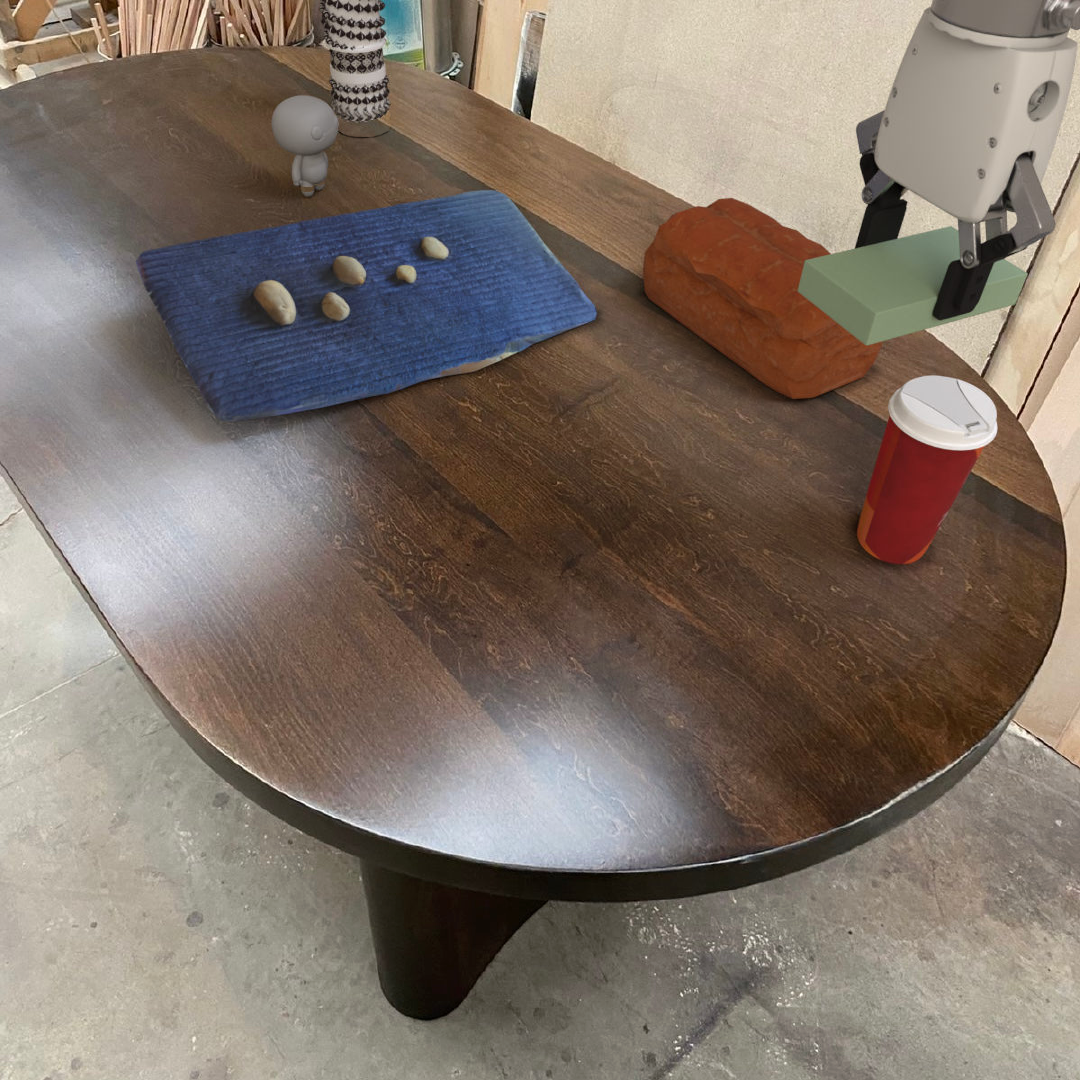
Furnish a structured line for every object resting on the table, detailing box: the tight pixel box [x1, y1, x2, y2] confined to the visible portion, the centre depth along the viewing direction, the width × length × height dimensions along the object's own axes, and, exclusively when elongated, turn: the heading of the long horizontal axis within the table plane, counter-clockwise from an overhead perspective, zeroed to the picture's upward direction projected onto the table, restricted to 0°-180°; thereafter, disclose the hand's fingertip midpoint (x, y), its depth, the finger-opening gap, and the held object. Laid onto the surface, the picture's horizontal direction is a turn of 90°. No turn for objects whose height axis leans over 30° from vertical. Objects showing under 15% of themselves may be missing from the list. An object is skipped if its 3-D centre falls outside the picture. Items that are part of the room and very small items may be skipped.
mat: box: [135, 189, 598, 423], centre depth 106 cm, size 45×27×12 cm, turn 125°
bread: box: [642, 197, 884, 400], centre depth 104 cm, size 16×27×11 cm, turn 34°
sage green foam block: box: [798, 225, 1028, 345], centre depth 66 cm, size 13×7×2 cm, turn 116°
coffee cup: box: [856, 374, 998, 565], centre depth 79 cm, size 8×8×15 cm
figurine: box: [271, 94, 339, 198], centre depth 124 cm, size 8×8×12 cm
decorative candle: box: [318, 0, 392, 123], centre depth 135 cm, size 9×9×25 cm
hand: (910, 283), depth 66 cm, fingers closed on sage green foam block, 7 cm apart
